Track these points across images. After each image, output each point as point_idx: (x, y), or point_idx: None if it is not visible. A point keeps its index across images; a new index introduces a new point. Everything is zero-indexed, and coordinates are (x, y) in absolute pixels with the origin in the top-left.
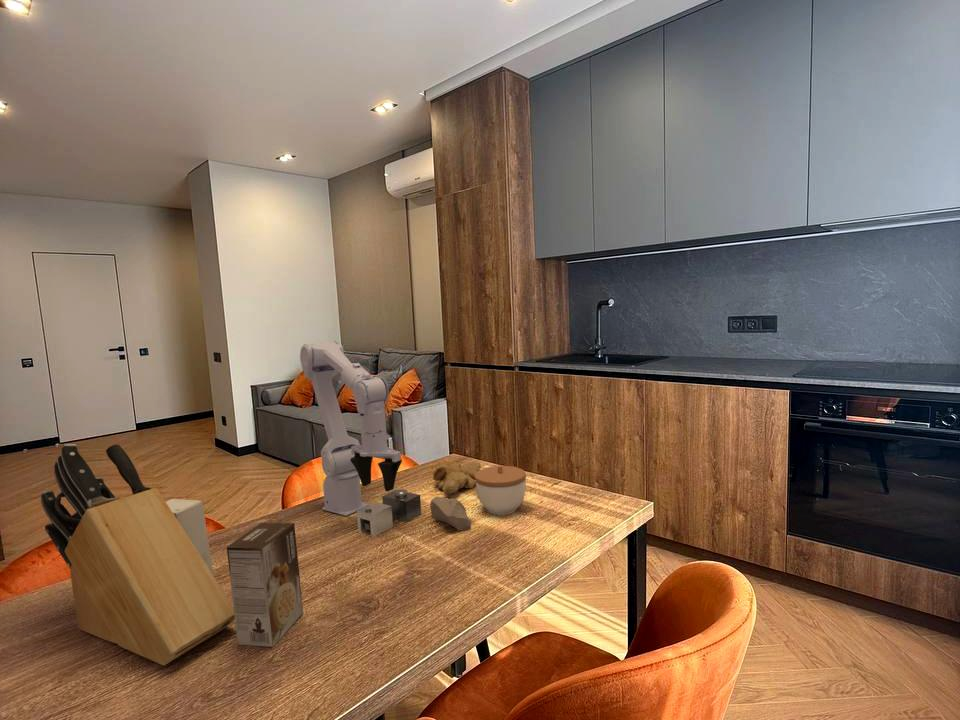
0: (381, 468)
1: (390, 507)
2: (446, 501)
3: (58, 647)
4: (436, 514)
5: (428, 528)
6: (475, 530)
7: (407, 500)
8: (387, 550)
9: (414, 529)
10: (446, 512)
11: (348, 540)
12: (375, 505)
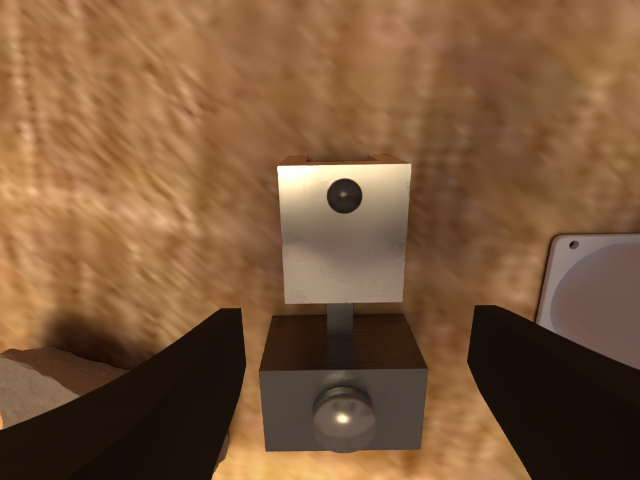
0: (78, 442)
1: (285, 294)
2: None
3: None
4: None
5: (159, 311)
6: None
7: (264, 383)
8: (131, 86)
9: (197, 281)
10: (10, 370)
11: (360, 65)
12: (369, 270)
